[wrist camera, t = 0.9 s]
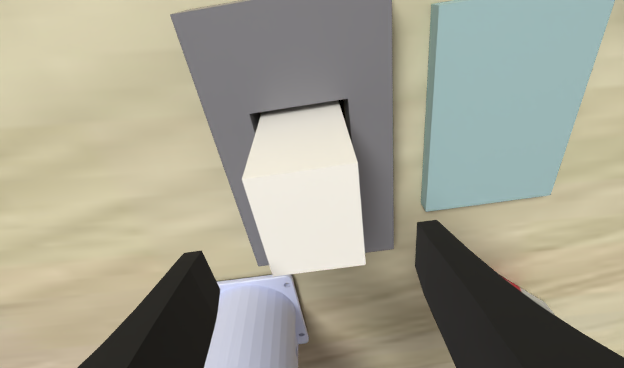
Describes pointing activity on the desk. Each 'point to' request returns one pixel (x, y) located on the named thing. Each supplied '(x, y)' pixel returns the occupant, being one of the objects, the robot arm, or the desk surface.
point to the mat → (504, 95)
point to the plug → (305, 190)
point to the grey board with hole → (297, 86)
